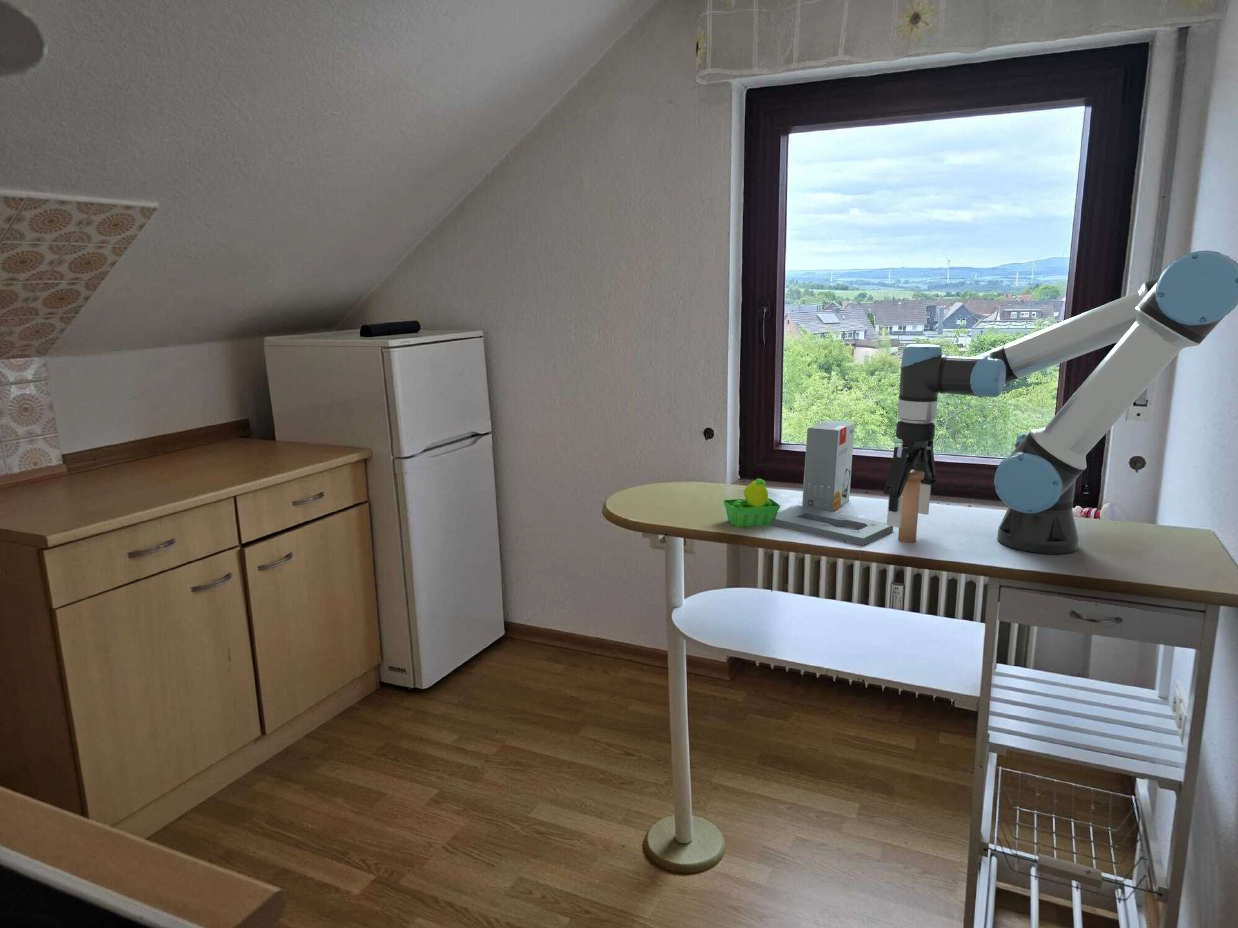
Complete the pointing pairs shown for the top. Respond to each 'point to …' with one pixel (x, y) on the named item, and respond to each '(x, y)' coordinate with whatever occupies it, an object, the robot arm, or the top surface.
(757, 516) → the fruit basket
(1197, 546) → the top surface
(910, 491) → the peg
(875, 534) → the keyhole board
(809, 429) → the hard drive box
